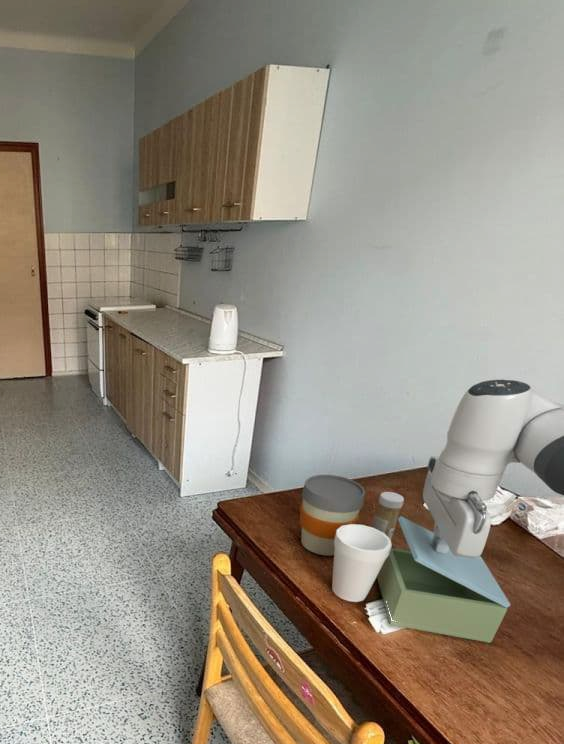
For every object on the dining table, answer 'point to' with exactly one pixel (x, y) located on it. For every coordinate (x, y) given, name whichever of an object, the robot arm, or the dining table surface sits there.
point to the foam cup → (358, 560)
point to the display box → (435, 601)
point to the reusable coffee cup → (328, 510)
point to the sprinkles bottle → (387, 512)
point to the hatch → (452, 563)
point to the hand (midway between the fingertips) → (438, 548)
